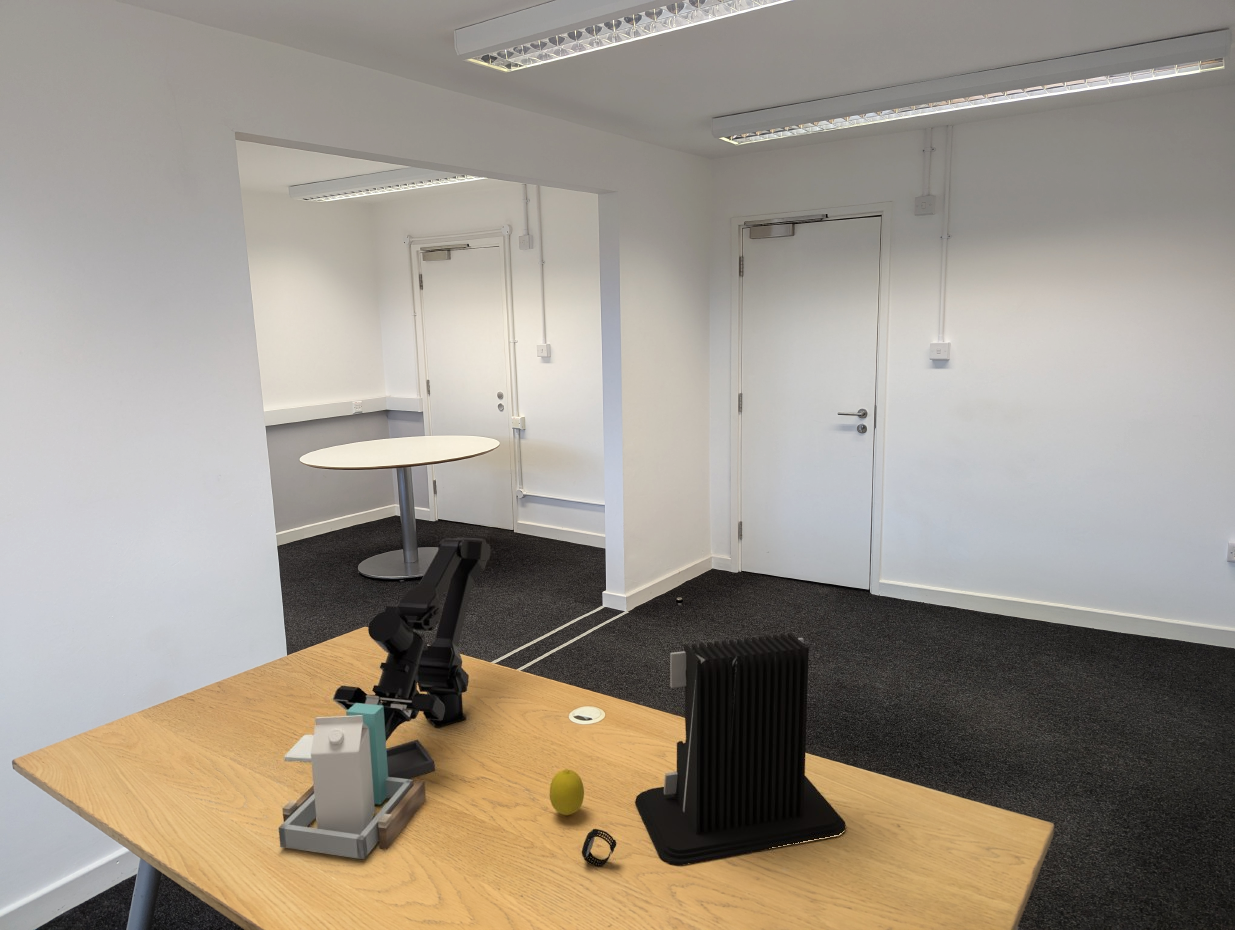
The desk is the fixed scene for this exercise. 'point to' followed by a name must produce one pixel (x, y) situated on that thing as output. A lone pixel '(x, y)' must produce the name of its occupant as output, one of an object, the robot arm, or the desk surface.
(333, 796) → the milk carton
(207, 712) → the desk surface
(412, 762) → the tray
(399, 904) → the desk surface
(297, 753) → the external hard drive
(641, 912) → the desk surface
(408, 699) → the robot arm
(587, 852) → the smartwatch
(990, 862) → the desk surface
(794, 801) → the black ribbed block
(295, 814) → the tray
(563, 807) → the lemon
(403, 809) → the channel
